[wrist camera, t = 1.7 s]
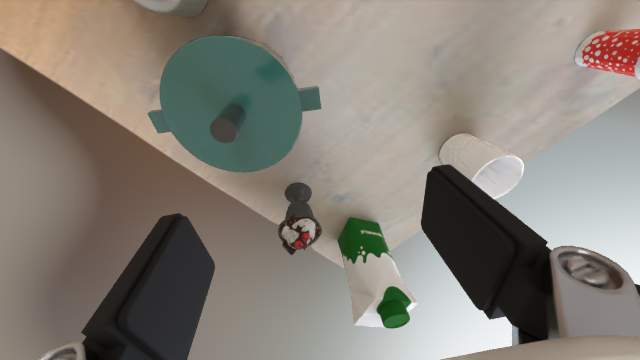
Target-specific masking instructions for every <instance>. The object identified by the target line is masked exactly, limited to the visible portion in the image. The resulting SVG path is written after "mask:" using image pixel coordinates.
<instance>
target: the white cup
mask: <svg viewBox="0 0 640 360" xmlns="http://www.w3.org/2000/svg"><path fill="white" fill-rule="evenodd" d="M439 159H440V161H441V163H442V164H443V165H446V164H450V165H452V166H453V167H454V168H455V169H457V170H458V171H459V172H460V173H462V174H463V175H464V176H465V177H467V178H468V179H469V180H471V181H472V182H473V183H474V184H476V185H477V186H478V187H479V188H481V189H482V190H483V191H484V192H486V193H487V194H488V195H489V196H491V197H492V198H493V199H495V198H498V197H500V196H502V195H504V194H506V193H507V192H509V191H510V190H511V189H512V188H514V187H515V185H516V184H517V183H518V182H519V181H520V179H521V177H522V175H523V172H524V163H523V161H522V160H521V159H520V158H519V157H517V156H515V155H513V154H511V153H509V152H507V151H505V150H503V149H501V148H499V147H497V146H495V145H493V144H490V143H488V142H486V141H484V140H481V139H478V138H476V137H474V136H472V135H470V134H468V133H460V134H457V135H455V136H452V137H451V138H450V139H448V140H447V141H446V142H445V143H444V144H443V146H442V148H441V149H440V154H439Z"/></svg>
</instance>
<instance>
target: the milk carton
mask: <svg viewBox="0 0 640 360" xmlns="http://www.w3.org/2000/svg"><path fill="white" fill-rule="evenodd" d="M338 244H339V247H340V250H341V253H342V257H343V261H344V265H345V270H346V274H347V278H348V283H349V287H350V291H351V298H352V309H353V319H354V325H360V326H373V327H386V328H398V327H401V326H403V325H405V324H407V322H409V320H410V317H409V314H408V313H409V312H410V311H411V310H412V309H413V308H414V307H415V305H416V304H417V301H416V299H415V298H414V296H413V295H412V294H411V292H410V291H409V289H408V288H407V287H406V285H405V284H404V283H403V281H402V279H401V276H400V274H399V272H398V270H397V268H396V265H395V263H394V261H393V258H392V256H391V254H390V252H389V249H388V247H387V245H386V242H385V240H384V237H383V234H382V231H381V229H380V226H379V224H378V223H374V222H369V221H364V220H359V219H354V218H350V219H349V221H348V222H347V224H346V226H345V228H344V230H343V231H342V233H341V235H340V237H339V239H338Z"/></svg>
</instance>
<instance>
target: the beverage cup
mask: <svg viewBox="0 0 640 360" xmlns="http://www.w3.org/2000/svg"><path fill="white" fill-rule="evenodd" d="M575 63H576V64H577V65H579V66H584V67H589V68H595V69H600V70H605V71H610V72H615V73H620V74H625V75H630V76H635V77H637V78H638V79H639V80H640V29H632V30H614V31H599V32H596V33H593V34H591V35H590V36H588V37H587V38H586V39H585V40H584V41H583V42H582V43H581V44H580V46H579V48H578V49H577V51H576V54H575Z"/></svg>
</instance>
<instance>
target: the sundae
mask: <svg viewBox="0 0 640 360" xmlns="http://www.w3.org/2000/svg"><path fill="white" fill-rule="evenodd" d="M311 193H312V192H311V189H310V188H309V187H308V186H307V185H305V184H303V183H295V184H292V185H290V186H289V187H288V188H287V189H286V192H285V196H286V198H287V200H288V201H290V202H291V203H292V204H290V206H289V207H288V210H287V213H286V217H285V220H284V221H283V222H281V224H280V226H279V229H278V230H279V231H278V234H279V237H280V239H281V240H282V241H283V244H282V246H283V247H284V248H285V250H286V251H287V252H289V254H291V255H293V254H294V252H295V251H296V250H297V249H298V250H299V249H304V250H305V248H307V246H309V245H311V244H312V243H314V242H315V241H316V240H317V239H318V238H319V236H320V235H321V232H322V229H321V226H320V224H319V223H318V221H317V220H316V219H315V218H314V217H313V213H312V210H311V208H310V206H309V205H308V204H307V203H306V202H307V201H308V200H309V199H310V197H311Z"/></svg>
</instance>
